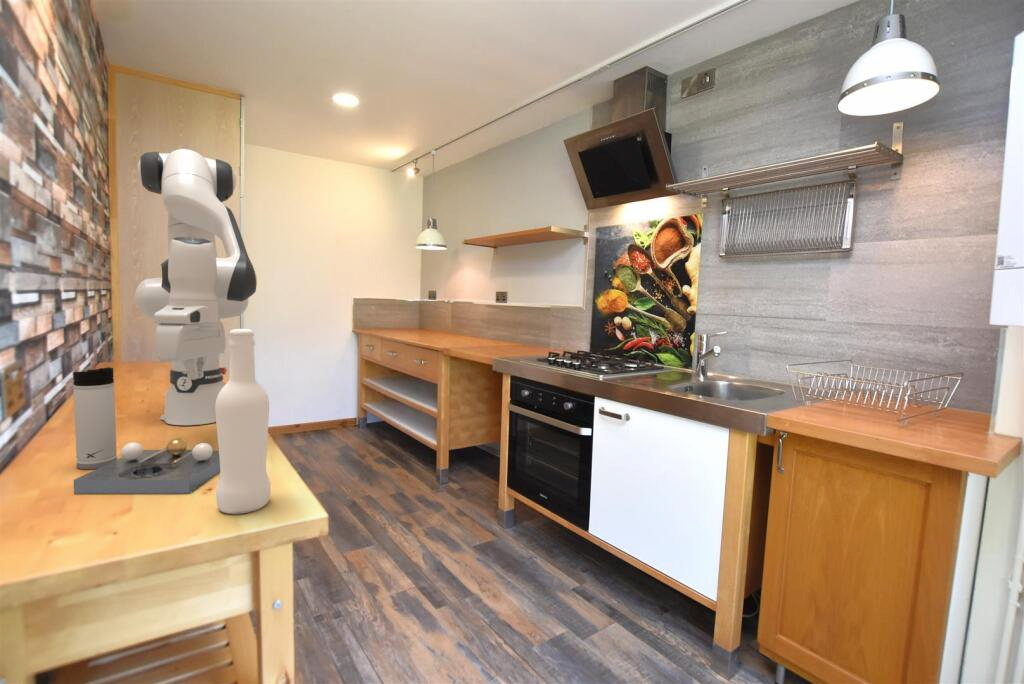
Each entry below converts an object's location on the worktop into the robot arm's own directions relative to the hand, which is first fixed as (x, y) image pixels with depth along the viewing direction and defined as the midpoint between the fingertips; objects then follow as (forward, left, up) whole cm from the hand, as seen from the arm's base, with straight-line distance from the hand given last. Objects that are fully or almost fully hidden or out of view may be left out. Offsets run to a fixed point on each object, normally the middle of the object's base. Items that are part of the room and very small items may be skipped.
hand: (195, 378), depth 106 cm
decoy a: (+10, +6, -13) cm, 18 cm away
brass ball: (+7, 0, -13) cm, 15 cm away
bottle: (+26, +21, -17) cm, 37 cm away
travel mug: (+6, -16, -17) cm, 24 cm away
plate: (+12, 0, -17) cm, 21 cm away
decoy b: (+10, -7, -13) cm, 18 cm away
